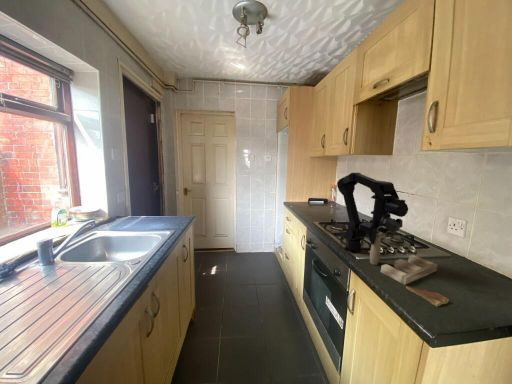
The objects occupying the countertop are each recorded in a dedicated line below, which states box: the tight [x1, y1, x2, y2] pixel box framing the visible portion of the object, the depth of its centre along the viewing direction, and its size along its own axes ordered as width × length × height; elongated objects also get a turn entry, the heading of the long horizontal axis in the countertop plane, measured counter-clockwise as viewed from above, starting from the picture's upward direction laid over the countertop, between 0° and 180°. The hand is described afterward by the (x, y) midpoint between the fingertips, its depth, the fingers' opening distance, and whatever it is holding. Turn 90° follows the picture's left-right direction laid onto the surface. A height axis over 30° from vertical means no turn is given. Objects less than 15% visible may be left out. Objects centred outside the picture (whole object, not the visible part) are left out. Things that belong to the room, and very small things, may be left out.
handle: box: [369, 232, 387, 266], centre depth 98 cm, size 5×6×15 cm
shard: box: [405, 284, 450, 307], centre depth 78 cm, size 11×8×2 cm
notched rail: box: [380, 254, 438, 286], centre depth 93 cm, size 10×24×3 cm, turn 117°
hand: (376, 243), depth 98 cm, fingers closed on handle, 5 cm apart
